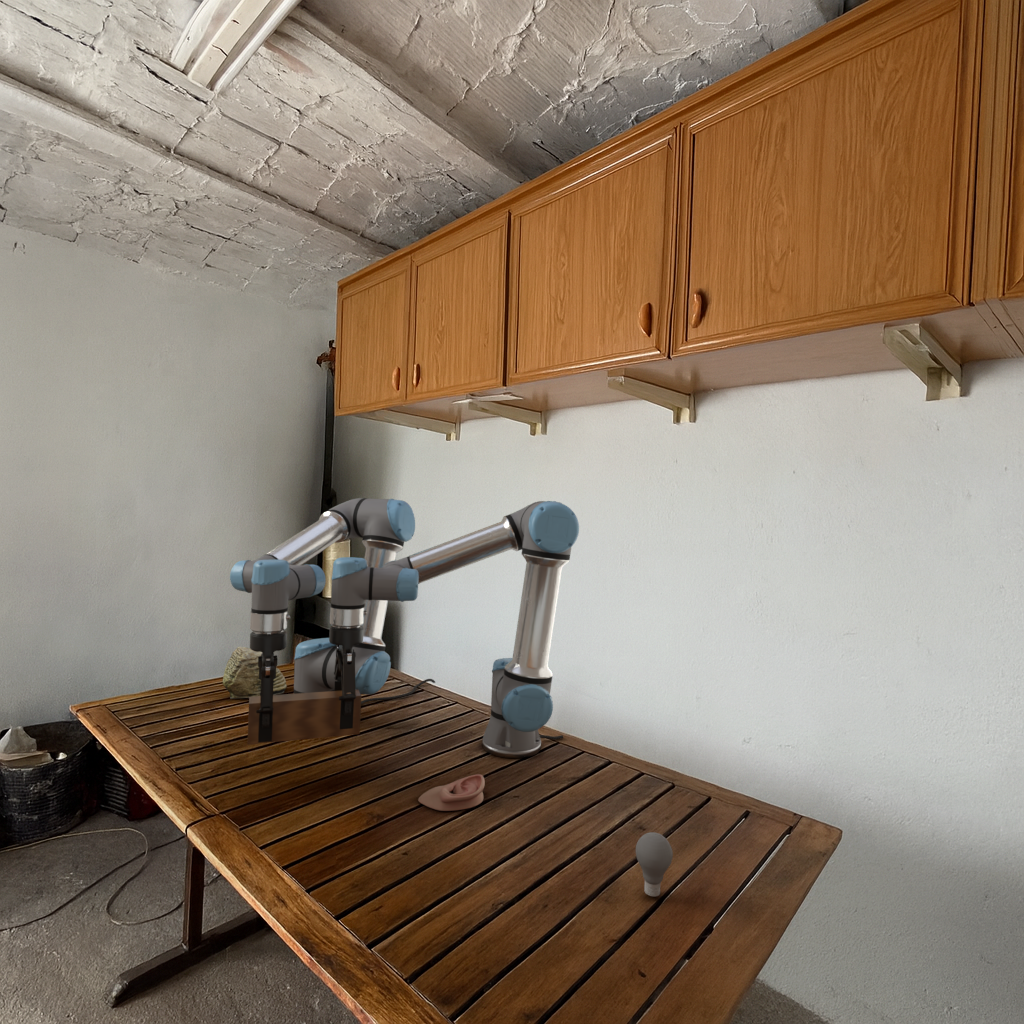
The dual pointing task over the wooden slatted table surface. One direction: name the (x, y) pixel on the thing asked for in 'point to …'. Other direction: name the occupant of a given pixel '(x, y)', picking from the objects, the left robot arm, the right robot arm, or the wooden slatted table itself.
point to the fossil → (247, 675)
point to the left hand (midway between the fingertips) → (265, 736)
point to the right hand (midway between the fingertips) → (342, 718)
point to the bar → (304, 716)
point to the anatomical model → (455, 794)
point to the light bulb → (653, 860)
